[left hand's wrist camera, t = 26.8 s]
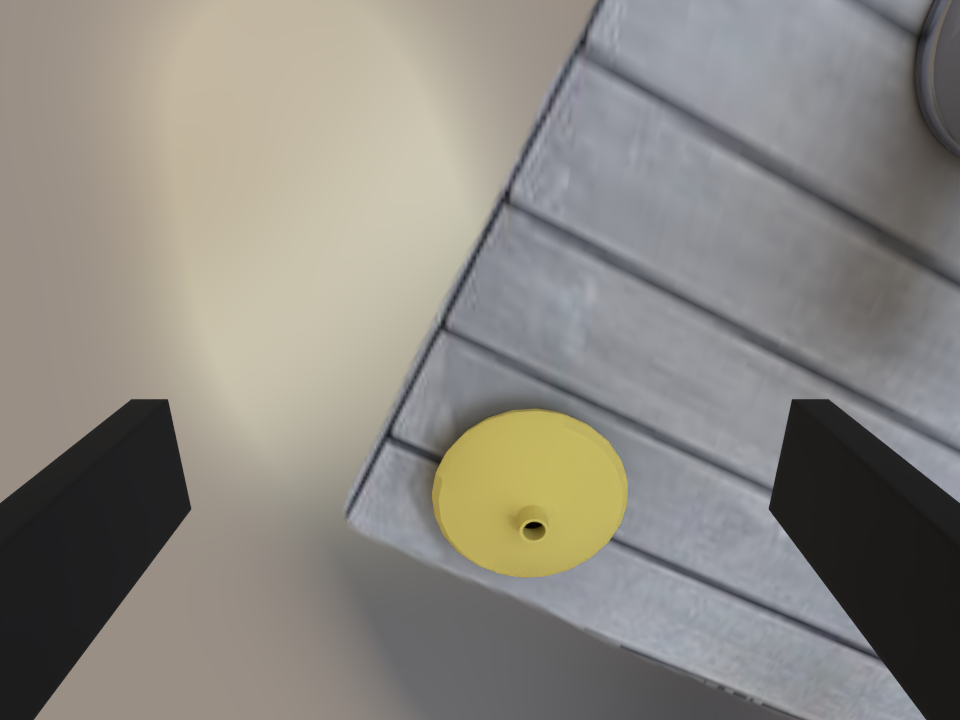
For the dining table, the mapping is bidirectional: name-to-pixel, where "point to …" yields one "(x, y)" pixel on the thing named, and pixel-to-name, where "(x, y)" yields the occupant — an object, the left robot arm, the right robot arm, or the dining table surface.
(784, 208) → the dining table surface
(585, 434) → the vase
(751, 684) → the dining table surface
